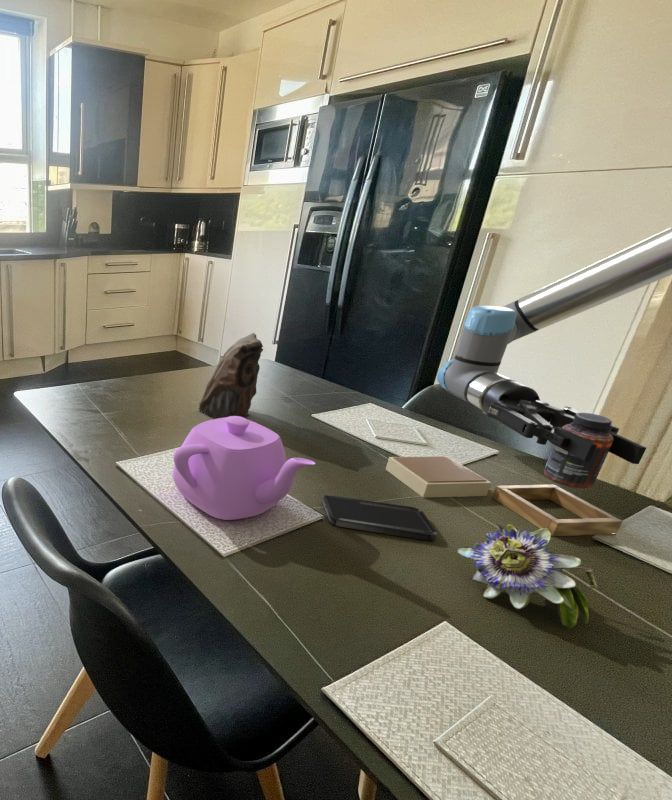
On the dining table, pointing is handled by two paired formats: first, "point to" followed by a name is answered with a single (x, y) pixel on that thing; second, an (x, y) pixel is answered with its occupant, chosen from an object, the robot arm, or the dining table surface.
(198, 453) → the teapot
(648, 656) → the dining table surface
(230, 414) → the owl
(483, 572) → the passion flower
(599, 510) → the rectangular wooden frame
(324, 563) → the dining table surface
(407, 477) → the stand
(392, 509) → the phone
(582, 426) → the supplement bottle
